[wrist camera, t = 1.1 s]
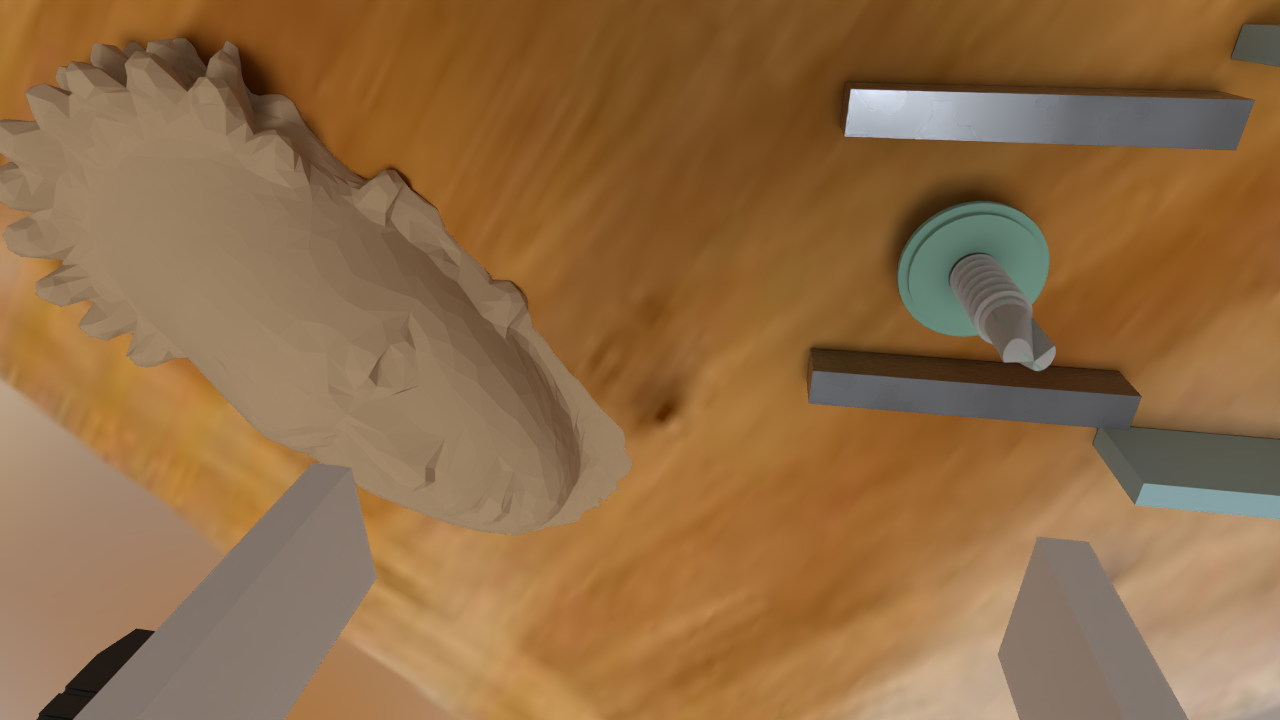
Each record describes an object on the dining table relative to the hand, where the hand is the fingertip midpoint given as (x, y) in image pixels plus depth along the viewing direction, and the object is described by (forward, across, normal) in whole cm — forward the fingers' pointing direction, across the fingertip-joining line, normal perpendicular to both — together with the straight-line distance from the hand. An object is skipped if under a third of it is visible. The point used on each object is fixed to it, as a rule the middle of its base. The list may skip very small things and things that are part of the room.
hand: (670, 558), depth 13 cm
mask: (+19, -16, -5) cm, 25 cm away
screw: (+18, +9, 0) cm, 20 cm away
